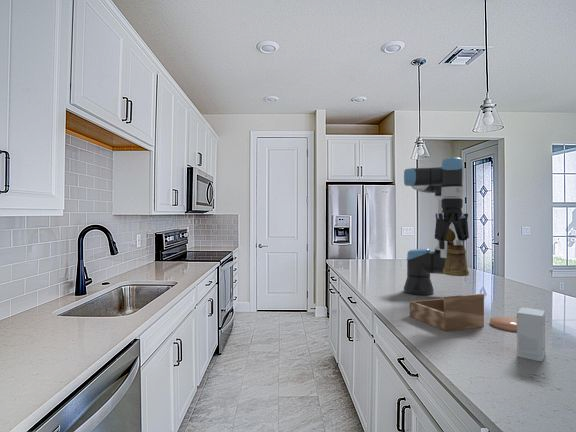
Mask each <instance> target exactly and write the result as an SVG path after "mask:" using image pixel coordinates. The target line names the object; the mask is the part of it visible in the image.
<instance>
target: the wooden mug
mask: <svg viewBox="0 0 576 432" xmlns="http://www.w3.org/2000/svg"><path fill="white" fill-rule="evenodd" d="M455 238H456V239H457V236H456V237H455V233H454V232H453V231H452V230H451V229H448V233H447V236H446V239H445V241H447V258H446V259H445V266H444V268H443V274H442V275H445V276H446V275H447V276H452V277H453V276H454V277H468V276H470V271H469V269H468V262H467V256H466V255H467V254H466V253H467V251H466V247H465V244H464V245H454V243H453V240H455Z"/></svg>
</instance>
